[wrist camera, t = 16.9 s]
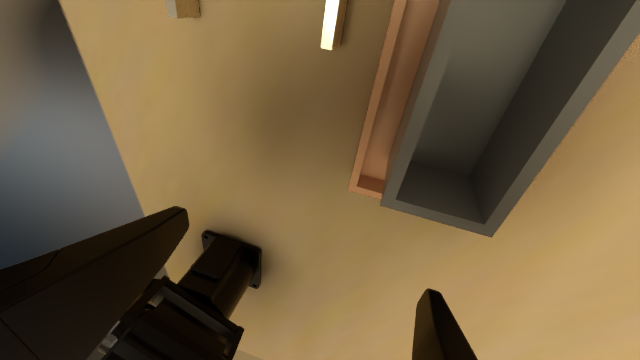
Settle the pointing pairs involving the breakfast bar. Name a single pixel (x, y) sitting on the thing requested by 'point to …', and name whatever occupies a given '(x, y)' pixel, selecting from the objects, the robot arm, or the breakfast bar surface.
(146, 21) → the breakfast bar surface
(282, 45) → the breakfast bar surface
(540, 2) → the box
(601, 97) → the breakfast bar surface
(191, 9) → the bay
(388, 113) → the tray
